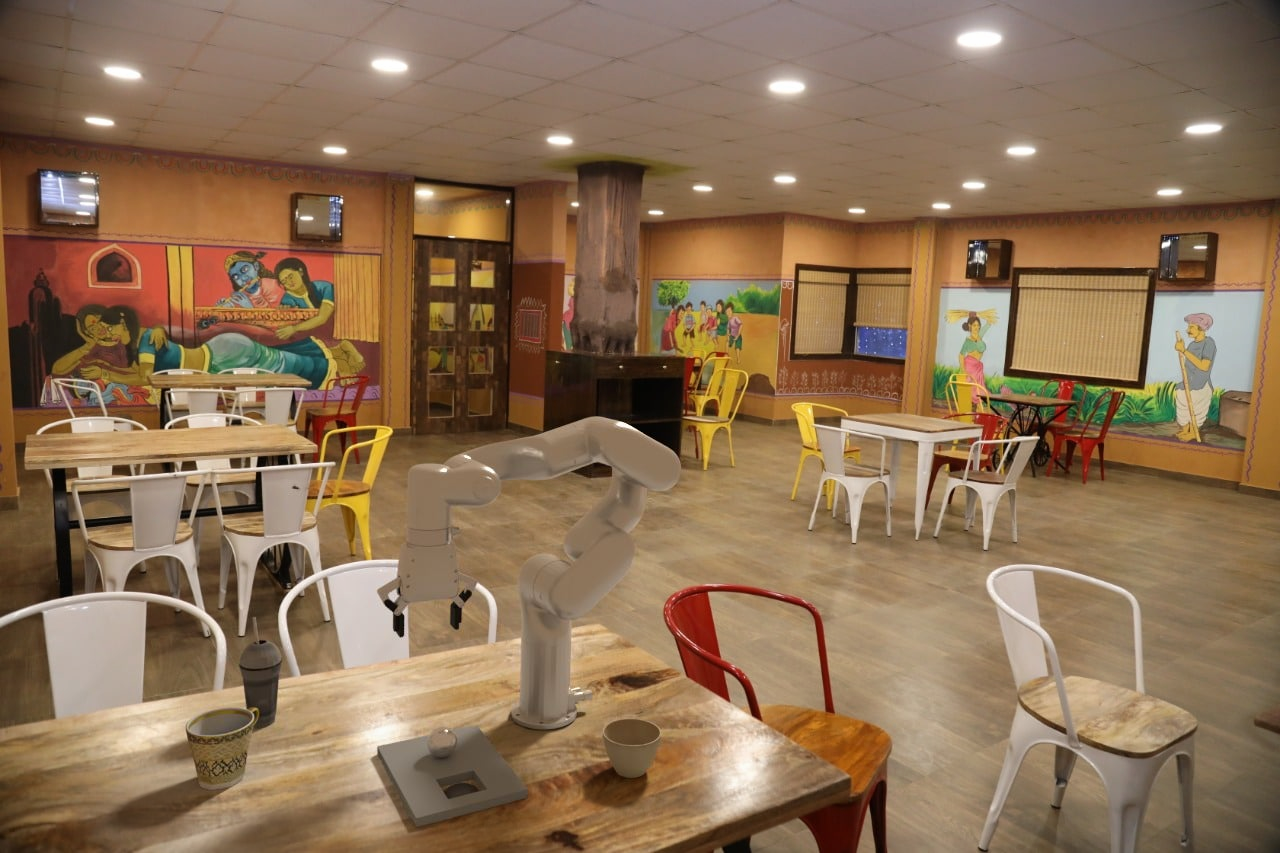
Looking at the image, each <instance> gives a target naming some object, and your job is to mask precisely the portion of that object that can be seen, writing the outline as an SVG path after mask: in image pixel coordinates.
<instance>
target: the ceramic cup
mask: <svg viewBox="0 0 1280 853" xmlns="http://www.w3.org/2000/svg"><path fill="white" fill-rule="evenodd" d="M254 711H255V712H256V715H255V718H254V714H253V713H252V712H254ZM258 717H259V710H258V709H257V708H255V707H251V708H248V709H246V708H242V707H233V706H232V707H230V706H229V707H221V708H220V707H219V708H215V709H211V710H210V709H209V710H207V711H203V712H202V713H201V712H200V714H199V713H198V714H197V715H196V716H194V717H192V718H190V719H189V720H188V722H186V723H185V724H186V725H185V732H186V737H187V742H188V747H189V749H190V753H191V755H192V758H193V763H194V766H195V771H196V775H197V780H198V784H199V786H200V788H203V789H206V790H209V791H217V790H223V789H227V788H228V789H229V788H231V787H233V786H234V785H236V784H239V782H241V781H242V780H243V779H244V777H245V773H246V765H247V760H248V752H249V748H250V743H251V739H252V735H253V730H254V727H253V726H254V725H255V723H256V722H257V720H258Z"/></svg>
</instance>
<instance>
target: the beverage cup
mask: <svg viewBox="0 0 1280 853" xmlns="http://www.w3.org/2000/svg"><path fill="white" fill-rule="evenodd" d="M252 623H253V624H252V625H253V632H254V638H255V639H254V640H255V641H253V642H251V643H249V644H248V645H247V646H246V647H245V648H244V649H243V650H242V654H241V655H240V659H239V663H238V664H239V665H238V666H239V668H240V669H239V670H240V674H241V677H242V682H243V690H244V692H243V693H244V698H245V707H246V708H245V709H248V708H251V707H255V708H257V709H258V710H259V717H258V720H257V722H256V723H255V725H254V726H253V728H256V729H257V728H259V729H261V728H266V727H268V726H271V725H273V724H274V723H275V722H276V717H277V716H276V714H277V705H278V694H279V680H280V672H281V668H282V662H283V659H282V654H281V651H280V649H279V647H278V646H277V645H276V644H275V643H274V642H272V641H269V640H266V639H259V633H258V625H257V617H256V616H254V617H252ZM252 713H253V714H254V718H255V715H256V712H255V711H254V712H252Z"/></svg>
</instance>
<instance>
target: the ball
mask: <svg viewBox="0 0 1280 853" xmlns="http://www.w3.org/2000/svg"><path fill="white" fill-rule="evenodd" d="M453 730H454V729H452V728H451V727H448V726H439V727H436V728H435V729H433V730H432V731H431V732H430V733H429V737H428V741H427V746H428V749H429V751H430V753H431V754H432V755H434V756H435V757H439V758H444V757H447V756H449V755H451V754H452V753H453V752H454V750H455V748H456V746H457V736H456V734H455V732H454V731H453Z"/></svg>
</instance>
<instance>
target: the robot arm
mask: <svg viewBox="0 0 1280 853" xmlns="http://www.w3.org/2000/svg"><path fill="white" fill-rule="evenodd" d="M594 463H600V464H604V465H606V466H608V467H609V466H610V467H611V481H610V486H609V489H608V491H607V492H606V493H605V495H604V496H603V497H602V498H601V499H600V500H599V501H598V502H597V503H596V504H595V505H594V506H593V507H592V508H591V509H590V510H589V511H588V512H587V513H585V515H583V516H582V517H581V518H580V519H579V520H578V521H577V522H576V523H575V524H574V525H572V526H571V528H570V529H569V530H568V531H567V533H566V534H565V536H564V538H563V544H562V545H563V550H564V552H565V554H566V555H567V557H568V558H569V559H570V560H572V561H573V563H572V564H571V563H570V562H568V561H566V560H565V559H563V558H561V557H559V556H557V555H554V554H551V553H545V552H544V553H537V554H533V555H532V556H530V557H529V558H528V559H527V560H526V561H525V562H524V563H523V565H522V566H521V568H520V570H519V573H518V579H517V588H518V589H517V590H518V596H519V604H520V614H521V616H520V617H521V631H520V632H521V636H520V676H519V677H520V680H519V700H518V701H516V703H514V705H513V706H512V708H511V718H512V720H513V721H514V722H515V723H516V724H518V725H520V726H522V727H525V728H528V729H532V730H545V731H546V730H554V729H559V728H563V727H565V726H567V725H569V724H571V723H573V722H574V721H575V720H576V718H577V716H578V707H577V706H576V705H577V704H579V702H585V701H590V700H592V699H593V692H592V690H591V689H586V690H581V687H579V686H577V687H573V688H571V659H572V656H571V655H572V654H571V653H572V652H571V651H572V628H573V627H572V621H573V620H574V621H575V620H578V619H579V618H582V617H583V616H585V615H586V614H587V613H589V612H590V611H591V610H592V609H593V608H594V607H595V606H597V605H598V604H599V602H601V601H602V600H603V598H604V597H605V596H607V595H608V593H610V592H611V591H612V590H613V589H614V588H615V586H617V585H618V584H619V582H621V581H622V580H623V579H624V578H625V576H627V574H628V573H629V571H630V570H631V569H632V565H634V561H635V558H636V545H635V542H634V539H633V537H632V536H631V535H630V533H631V532H632V530H633V529H634V528H635V527H636V526H637V525H638V524H639V523H640V520H641V519H642V517H643V515H644V513H645V510H646V505H647V497H648V496H647V495H648V493H647V491H648V489H649V490H651V491H654V492H663V491H664V492H665V491H668V490H670V489H672V488H673V487H674V486H675V485H676V484H677V483H678V481H679V480H680V478H681V473H682V464H681V461H680V458H679V456H678V455H677V454H676V452H675V451H674V450H672V449H671V448H669V447H668V446H666V445H664V444H663V443H661V442H659V441H657V440H655V439H653V438H652V437H650V436H648V435H646V434H644V433H643V432H641V431H640V430H638V429H637V428H635V427H633V426H631V425H629V424H627V423H626V422H623V421H619V420H617V419H611V418H607V417H604V416H589V417H586V418H583V419H580V420H577V421H574V422H571V423H568V424H565V425H562V426H560V427H556V428H554V429H551V430H548V431H545V432H541V433H539V434H535V435H531V436H525V437H520V438H516V439H511V440H505V441H500V442H494V443H490V444H485V445H482V446H479V447H476V448H473V449H469V450H467V451H465V452H461V453H459V454H456V455H454V456H451V457H450V458H448V459H447V460H446V461H445V462H444V463H443V464H441V463H419V464H415V465H413V466H411V467H410V468H409V470H408V472H407V499H406V500H407V503H406V505H407V506H406V510H407V511H406V541H404V542H402V543H401V545H400V550H399V556H398V560H397V561H398V563H397V570H396V572H397V573H396V578H394V579H392V580H391V581H389V582H387V583H385V584H384V585H382V586H381V587H379V588H378V589H377V590H376V593H377V595H378V596H379V598H380V600H381V601H382V603H383V605H384V606H385V607H386V608H387V609H388V610H389V611H391V612H392V631H393V632H394V633H396V635H397V636H398V637H399V638H404V637H405V614H404V613H403V611H405V609H406V608H407V607H408V605H409V604H417V603H419V604H420V603H427V602H435V601H441V600H442V601H443V600H449V599H451V600H452V602H451V604H450V605H449V606H450V607H449V609H450V610H449V611H450V612H449V625H450V626H451V627H452V628H453V630H456V631H457V630H458V631H459V629H460V624H461V623H462V619H463V607H464V606H465V604H466V602H467V601H468V600H469V599H470V598H471V597H472V596H473V591H474V590H475V589H476V586H477V584H478V580H477V579H475V578H474V577H472V576H469V575H467V574H464V573H462V572H460V571H459V569H460V568H459V560H458V552H457V547H456V542H455V541H454V540H453V538H454V536H456V535H460V532H461V530H460V527H459V526H453V507H466V508H467V507H469V508H481V507H485V506H488V505H490V504H492V503H494V502H495V501H496V500H497V498H498V497H499V495H500V494H501V491H502V482H503V481H511V480H527V481H528V480H529V481H542V480H551V479H554V478H557V477H559V476H562V475H564V474H567V473H569V472H572V471H575V470H579V469H581V468H582V467H586V466H588V465H591V464H594ZM460 582H462V583H464V584H466V585H465V588H463V590H462V591H461V592H460ZM395 590H396V594H397V598H396V599H395V600H394V601H393V600H392V599H390V597H389V595H390V593H392V592H394V591H395ZM459 592H460V593H459Z"/></svg>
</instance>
